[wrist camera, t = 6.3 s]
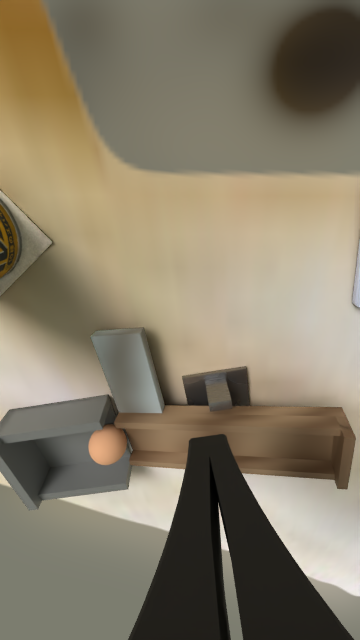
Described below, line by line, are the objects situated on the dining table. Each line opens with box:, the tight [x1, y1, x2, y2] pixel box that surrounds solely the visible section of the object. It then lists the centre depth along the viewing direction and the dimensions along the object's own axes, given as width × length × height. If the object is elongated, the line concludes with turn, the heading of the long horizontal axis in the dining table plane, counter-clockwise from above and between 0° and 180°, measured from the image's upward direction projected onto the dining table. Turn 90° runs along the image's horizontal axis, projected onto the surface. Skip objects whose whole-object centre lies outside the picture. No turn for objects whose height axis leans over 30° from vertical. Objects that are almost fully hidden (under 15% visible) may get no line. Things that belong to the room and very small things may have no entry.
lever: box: [91, 328, 356, 489], centre depth 18 cm, size 16×12×2 cm
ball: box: [88, 424, 127, 465], centre depth 21 cm, size 3×3×3 cm
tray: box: [0, 395, 132, 510], centre depth 22 cm, size 8×8×4 cm
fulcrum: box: [182, 366, 250, 412], centre depth 21 cm, size 5×8×3 cm, turn 10°
